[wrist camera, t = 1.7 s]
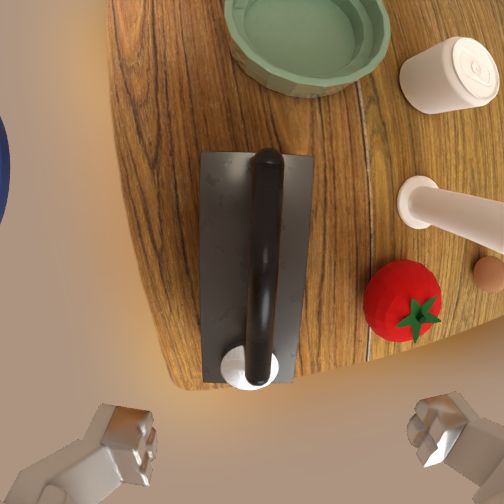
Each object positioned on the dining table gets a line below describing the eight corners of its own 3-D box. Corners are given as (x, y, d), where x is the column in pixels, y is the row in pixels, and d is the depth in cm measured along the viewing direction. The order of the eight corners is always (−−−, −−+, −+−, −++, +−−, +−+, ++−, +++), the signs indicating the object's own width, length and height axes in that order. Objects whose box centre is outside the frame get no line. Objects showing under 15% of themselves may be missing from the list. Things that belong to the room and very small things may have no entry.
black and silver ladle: (275, 383, 34) (288, 457, 23) (221, 383, 33) (217, 458, 23) (292, 155, 27) (325, 151, 17) (223, 152, 27) (214, 145, 16)
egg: (464, 286, 42) (491, 303, 35) (467, 253, 40) (496, 267, 34) (487, 280, 42) (513, 295, 35) (490, 248, 40) (518, 261, 34)
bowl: (222, 94, 34) (219, 79, 27) (230, -24, 29) (230, -53, 22) (368, 107, 35) (393, 98, 28) (363, -7, 30) (383, -30, 23)
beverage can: (400, 49, 32) (450, 20, 21) (447, 73, 33) (502, 56, 21) (392, 100, 34) (446, 83, 23) (441, 123, 35) (500, 117, 24)
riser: (208, 341, 42) (202, 382, 33) (209, 154, 35) (200, 151, 27) (282, 342, 42) (293, 383, 34) (296, 157, 36) (314, 156, 27)
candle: (428, 167, 37) (585, 190, 13) (444, 214, 38) (588, 269, 14) (388, 188, 37) (546, 232, 13) (406, 237, 39) (547, 317, 15)
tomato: (419, 310, 42) (454, 343, 33) (355, 330, 42) (382, 370, 33) (417, 243, 39) (460, 266, 30) (349, 260, 40) (380, 289, 30)
